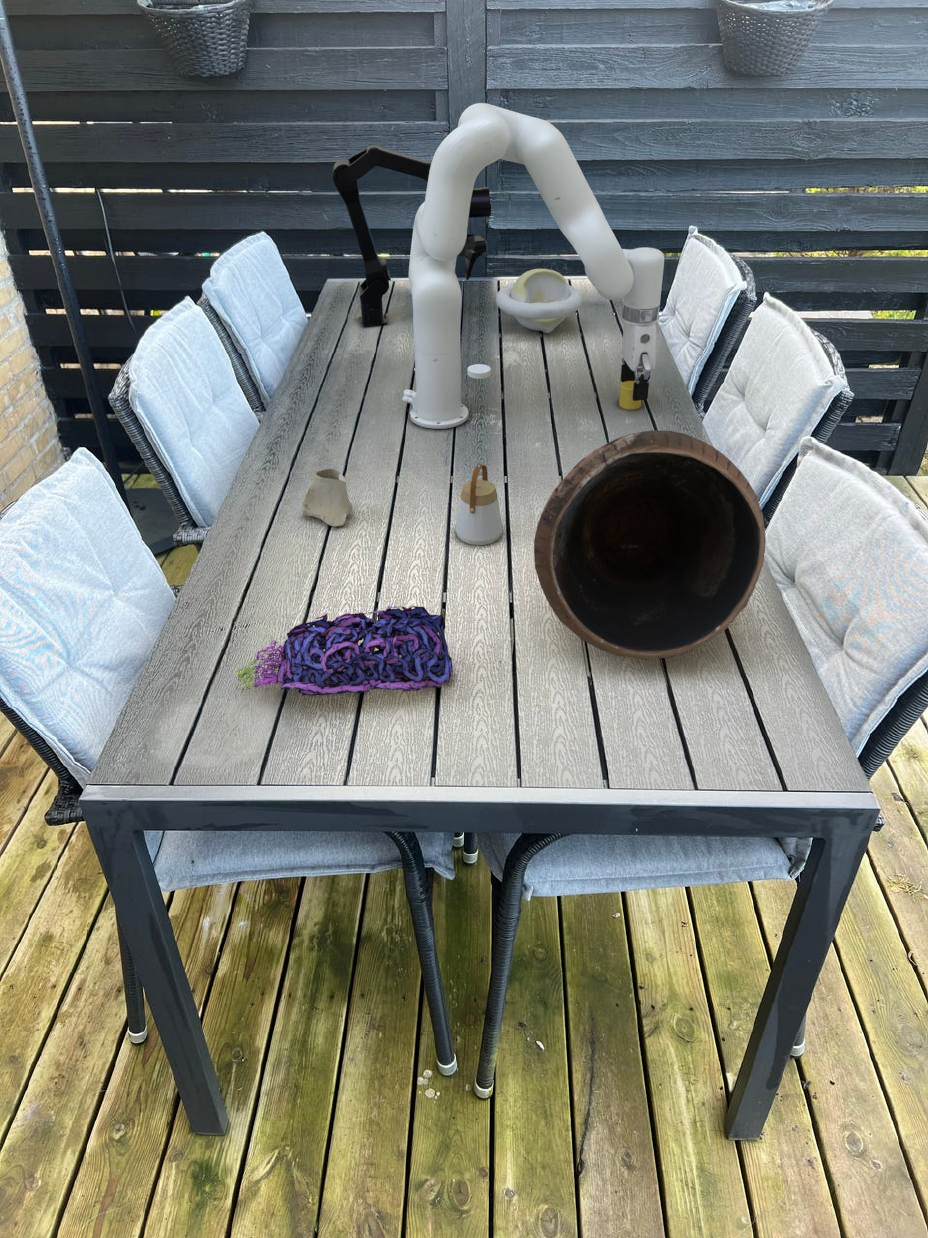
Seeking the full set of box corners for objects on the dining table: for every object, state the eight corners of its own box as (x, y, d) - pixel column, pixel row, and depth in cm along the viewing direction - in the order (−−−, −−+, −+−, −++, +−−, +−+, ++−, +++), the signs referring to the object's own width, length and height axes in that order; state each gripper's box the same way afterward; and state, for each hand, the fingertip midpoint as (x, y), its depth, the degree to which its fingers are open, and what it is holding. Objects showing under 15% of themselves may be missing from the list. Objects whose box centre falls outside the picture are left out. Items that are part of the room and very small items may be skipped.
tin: (641, 410, 202) (643, 390, 199) (618, 409, 202) (620, 389, 200) (640, 400, 206) (643, 381, 203) (618, 399, 206) (620, 380, 203)
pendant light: (493, 549, 158) (495, 382, 140) (448, 540, 161) (445, 375, 142) (508, 525, 164) (512, 362, 146) (465, 517, 167) (463, 355, 148)
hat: (489, 313, 250) (490, 256, 241) (569, 310, 251) (573, 252, 242) (502, 348, 230) (503, 287, 221) (589, 343, 232) (594, 283, 223)
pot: (569, 390, 148) (614, 390, 119) (739, 473, 153) (822, 494, 124) (483, 572, 154) (505, 616, 125) (649, 647, 159) (708, 705, 130)
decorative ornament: (458, 672, 122) (225, 684, 119) (455, 713, 130) (238, 725, 128) (450, 592, 130) (231, 602, 127) (447, 636, 138) (243, 646, 135)
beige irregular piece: (352, 523, 169) (358, 468, 167) (345, 530, 162) (351, 474, 159) (303, 516, 169) (308, 461, 167) (294, 523, 162) (299, 466, 159)
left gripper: (422, 229, 224) (424, 295, 234) (495, 222, 229) (494, 287, 238) (410, 218, 232) (412, 281, 242) (480, 211, 237) (480, 274, 247)
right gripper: (670, 325, 185) (662, 405, 195) (646, 297, 199) (639, 373, 209) (634, 328, 184) (627, 408, 195) (612, 299, 198) (606, 376, 208)
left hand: (450, 281), depth 242 cm, fingers open, 9 cm apart
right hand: (633, 390), depth 202 cm, fingers open, 9 cm apart
